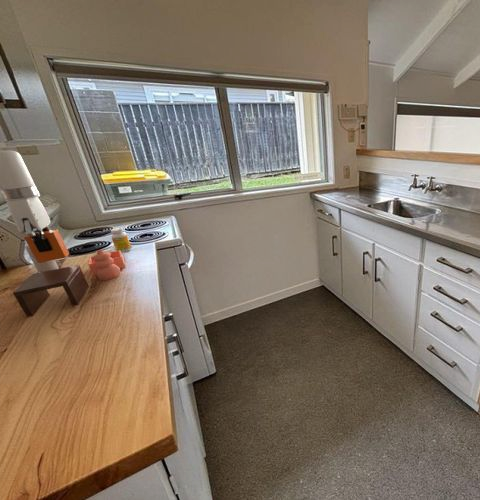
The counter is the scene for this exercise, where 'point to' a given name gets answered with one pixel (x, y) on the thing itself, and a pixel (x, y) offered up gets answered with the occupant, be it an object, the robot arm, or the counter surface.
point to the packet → (56, 243)
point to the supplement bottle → (120, 240)
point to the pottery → (106, 264)
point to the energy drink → (43, 265)
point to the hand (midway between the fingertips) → (48, 248)
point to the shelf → (37, 284)
